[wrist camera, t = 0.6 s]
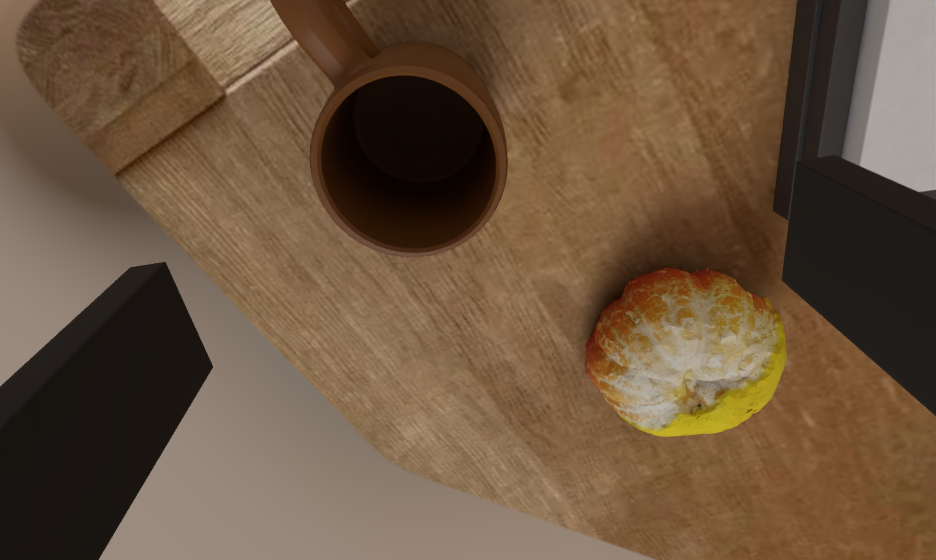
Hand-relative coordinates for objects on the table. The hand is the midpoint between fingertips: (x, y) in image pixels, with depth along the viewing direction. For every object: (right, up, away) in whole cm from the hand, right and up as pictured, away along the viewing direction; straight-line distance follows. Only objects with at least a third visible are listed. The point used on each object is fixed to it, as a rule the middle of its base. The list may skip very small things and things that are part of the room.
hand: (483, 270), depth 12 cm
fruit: (+12, -3, +24) cm, 27 cm away
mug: (-4, +10, +16) cm, 20 cm away
